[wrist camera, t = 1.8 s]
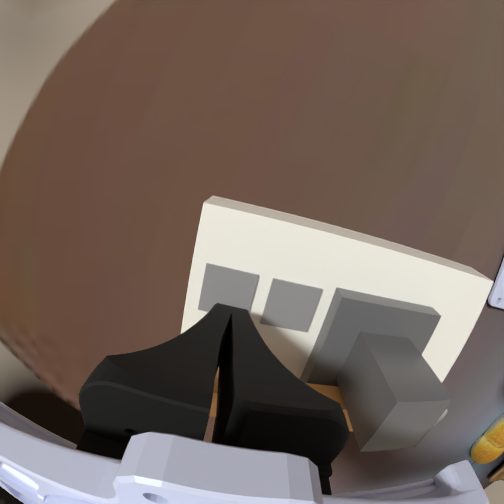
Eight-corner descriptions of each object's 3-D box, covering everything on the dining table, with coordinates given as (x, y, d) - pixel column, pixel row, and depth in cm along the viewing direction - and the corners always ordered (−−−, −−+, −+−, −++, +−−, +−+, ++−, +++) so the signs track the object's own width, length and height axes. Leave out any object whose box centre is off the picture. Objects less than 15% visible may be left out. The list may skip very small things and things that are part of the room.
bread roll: (458, 456, 22) (468, 477, 18) (503, 405, 20) (518, 426, 16) (488, 448, 23) (498, 466, 19) (527, 402, 20) (541, 419, 17)
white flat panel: (470, 267, 15) (494, 282, 12) (407, 391, 17) (420, 415, 15) (212, 195, 14) (203, 202, 11) (182, 361, 17) (173, 390, 14)
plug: (412, 289, 15) (492, 369, 7) (375, 367, 16) (420, 461, 9) (325, 268, 15) (381, 366, 7) (293, 357, 16) (311, 470, 9)
